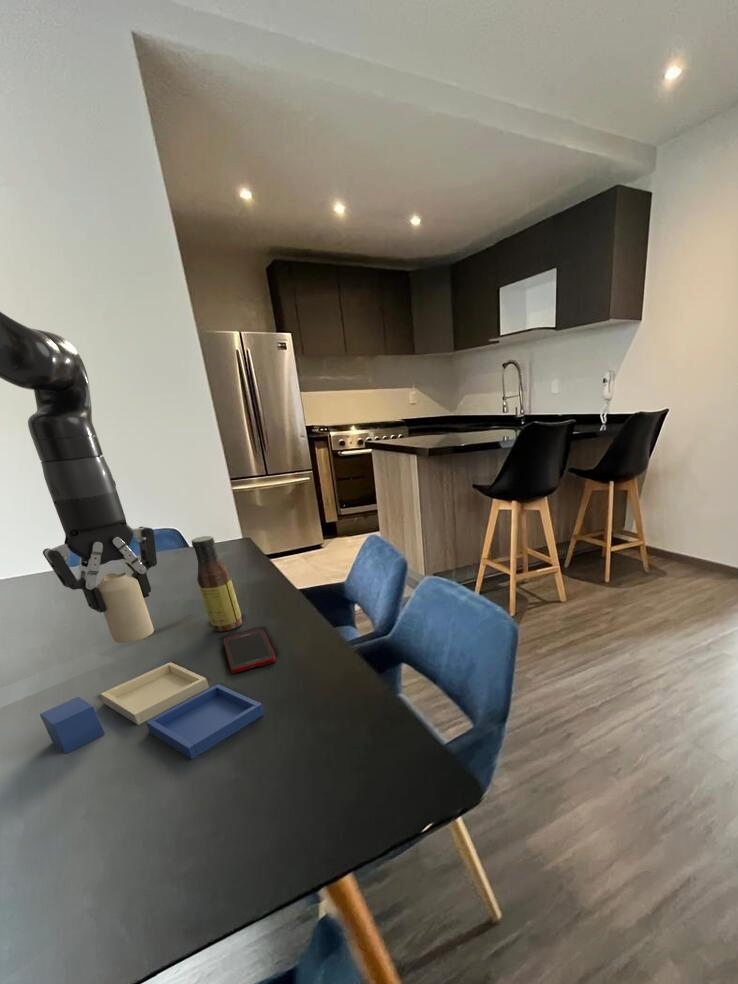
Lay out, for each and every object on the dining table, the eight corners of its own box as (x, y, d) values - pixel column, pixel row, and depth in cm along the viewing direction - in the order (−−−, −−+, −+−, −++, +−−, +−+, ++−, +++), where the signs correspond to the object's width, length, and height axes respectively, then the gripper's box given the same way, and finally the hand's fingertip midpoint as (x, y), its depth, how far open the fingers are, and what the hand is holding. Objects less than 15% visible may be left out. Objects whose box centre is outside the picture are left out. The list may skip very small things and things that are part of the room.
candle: (107, 638, 76) (85, 578, 72) (144, 625, 80) (124, 567, 76) (123, 646, 73) (101, 584, 69) (160, 632, 77) (141, 572, 73)
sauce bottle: (229, 618, 110) (207, 532, 102) (249, 622, 107) (228, 534, 99) (204, 631, 104) (179, 541, 97) (225, 635, 102) (200, 543, 94)
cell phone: (232, 675, 86) (230, 670, 86) (223, 642, 98) (222, 638, 98) (277, 662, 89) (276, 657, 89) (263, 632, 102) (262, 628, 101)
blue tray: (191, 759, 66) (188, 748, 65) (149, 732, 72) (145, 721, 72) (264, 714, 75) (261, 703, 74) (220, 693, 81) (218, 683, 80)
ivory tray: (138, 725, 74) (134, 714, 74) (104, 703, 81) (100, 693, 80) (209, 688, 83) (206, 678, 82) (173, 671, 89) (170, 661, 88)
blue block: (66, 753, 69) (52, 724, 67) (52, 742, 72) (39, 713, 70) (104, 734, 73) (93, 705, 71) (90, 723, 75) (78, 696, 74)
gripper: (126, 481, 75) (158, 584, 82) (11, 500, 65) (58, 616, 71) (150, 484, 71) (182, 591, 78) (32, 504, 61) (80, 627, 67)
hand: (122, 603), depth 74 cm, fingers closed on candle, 5 cm apart
